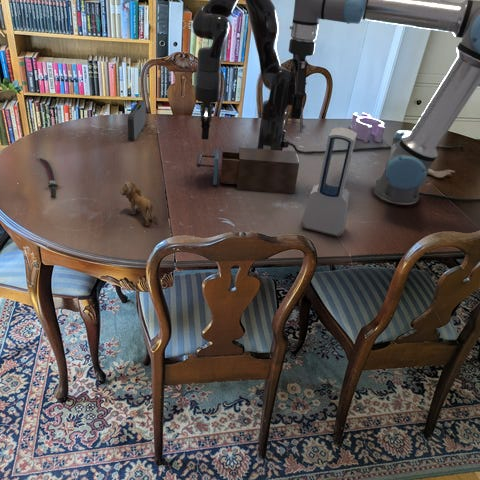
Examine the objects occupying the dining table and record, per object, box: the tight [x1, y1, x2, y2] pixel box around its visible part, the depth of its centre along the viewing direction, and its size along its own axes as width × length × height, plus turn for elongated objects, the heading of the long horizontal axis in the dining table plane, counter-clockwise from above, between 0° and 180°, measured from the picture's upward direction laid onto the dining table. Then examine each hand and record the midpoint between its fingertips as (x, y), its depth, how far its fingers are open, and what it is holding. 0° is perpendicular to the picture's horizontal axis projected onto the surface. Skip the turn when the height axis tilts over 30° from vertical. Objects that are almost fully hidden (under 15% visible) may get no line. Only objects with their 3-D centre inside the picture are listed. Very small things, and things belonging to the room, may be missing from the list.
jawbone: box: [427, 168, 456, 179], centre depth 185 cm, size 9×20×2 cm, turn 50°
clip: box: [349, 112, 386, 143], centre depth 214 cm, size 20×12×7 cm, turn 11°
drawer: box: [196, 148, 239, 186], centre depth 158 cm, size 24×9×9 cm, turn 91°
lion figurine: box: [119, 181, 159, 227], centre depth 134 cm, size 15×5×9 cm, turn 50°
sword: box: [40, 158, 59, 198], centre depth 151 cm, size 31×3×1 cm, turn 26°
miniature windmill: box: [284, 59, 308, 132], centre depth 206 cm, size 9×8×30 cm
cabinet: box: [235, 147, 300, 194], centre depth 159 cm, size 20×10×11 cm, turn 91°
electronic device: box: [300, 127, 357, 237], centre depth 132 cm, size 12×8×30 cm, turn 71°
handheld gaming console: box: [127, 99, 147, 141], centre depth 190 cm, size 23×3×10 cm, turn 178°
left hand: (205, 138), depth 152 cm, fingers closed
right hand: (292, 111), depth 148 cm, fingers open, 13 cm apart
